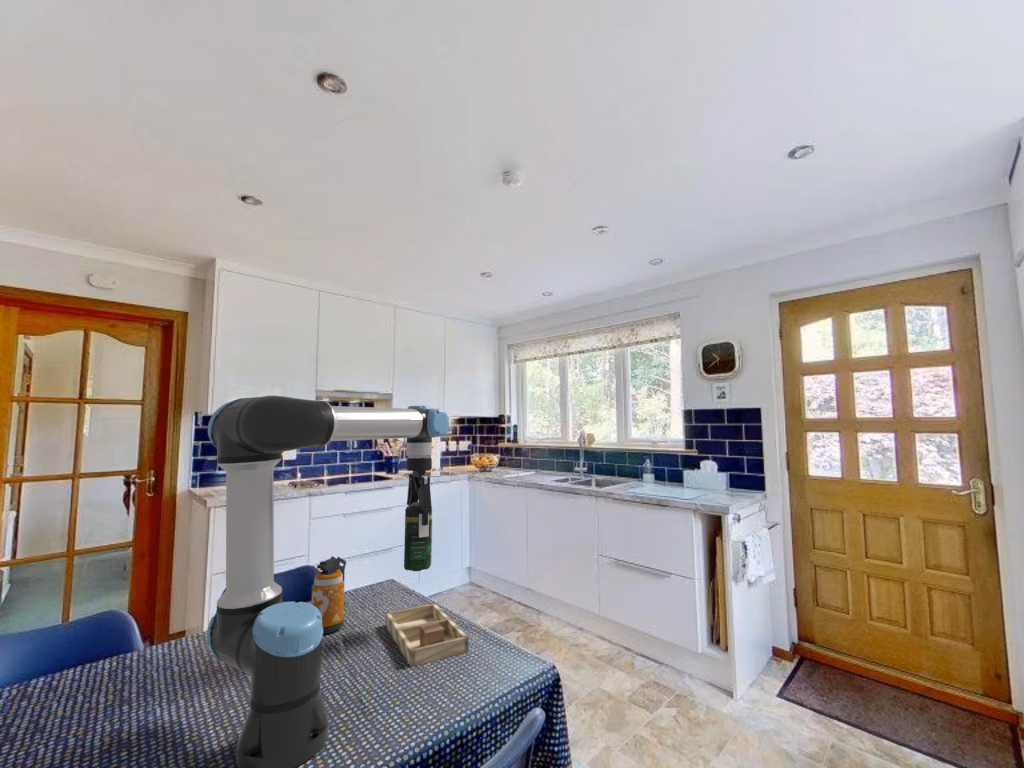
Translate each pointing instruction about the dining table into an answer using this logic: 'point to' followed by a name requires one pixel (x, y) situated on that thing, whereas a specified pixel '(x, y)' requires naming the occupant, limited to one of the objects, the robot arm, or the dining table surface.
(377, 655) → the dining table surface
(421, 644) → the walnut block
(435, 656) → the slot rack
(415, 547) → the coffee jar
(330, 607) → the canister
